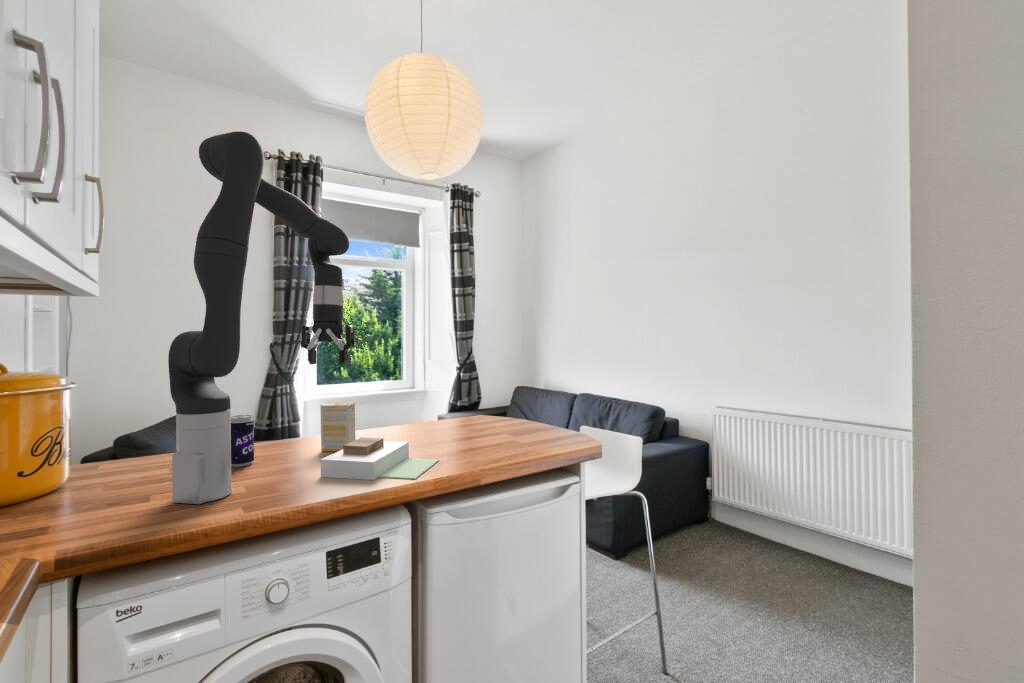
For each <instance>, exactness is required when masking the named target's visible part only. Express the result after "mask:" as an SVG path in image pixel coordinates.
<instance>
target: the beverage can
mask: <svg viewBox="0 0 1024 683" xmlns="http://www.w3.org/2000/svg"><path fill="white" fill-rule="evenodd" d="M254 422H255V420H254V419H253V416H252V415H251V414H239V415H233V416H231V467H234V468H236V467H237V468H239V467H246V466H249V465H251V464H252V463H253V462H254V460H255V426H254V425H255V423H254Z"/></svg>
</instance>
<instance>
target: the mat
mask: <svg viewBox="0 0 1024 683" xmlns="http://www.w3.org/2000/svg"><path fill="white" fill-rule="evenodd" d="M439 461H440V460H439V459H436V458H435V459H433V458H432V459H431V458H414V457H413V458H412V457H408V458H405V459H403V460H402V461H400V462H399V463H397V464H396V465H394V466H393V467H391V468H390V469H388V470H386V471H385V472H383V473H382V474H380V475H379V476H378V478H382V479H401V480H417V479H418V478H420V477H421V476H422V475H423V474H424V473H426V472H427V471H428V470H429V469H431V468H432V467H433V466H434V465H435V464H437V463H438V462H439Z"/></svg>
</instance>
